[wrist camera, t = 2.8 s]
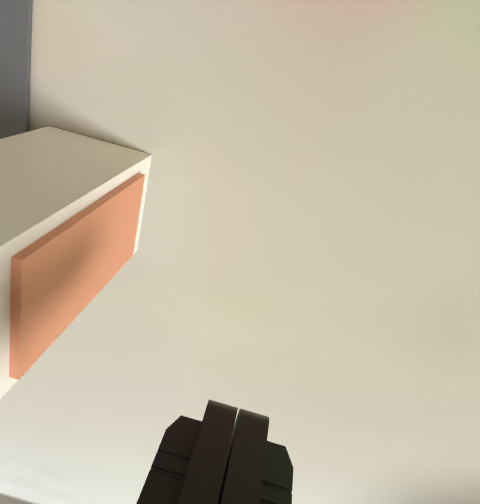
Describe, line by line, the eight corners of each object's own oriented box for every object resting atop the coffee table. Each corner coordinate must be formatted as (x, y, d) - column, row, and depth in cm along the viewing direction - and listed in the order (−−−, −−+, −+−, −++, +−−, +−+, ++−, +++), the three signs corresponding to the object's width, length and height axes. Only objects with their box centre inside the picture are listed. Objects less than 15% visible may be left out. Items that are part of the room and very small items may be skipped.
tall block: (49, 125, 21) (-242, 203, 10) (158, 156, 21) (-19, 268, 10) (44, 222, 23) (-200, 374, 12) (142, 251, 23) (-16, 431, 12)
